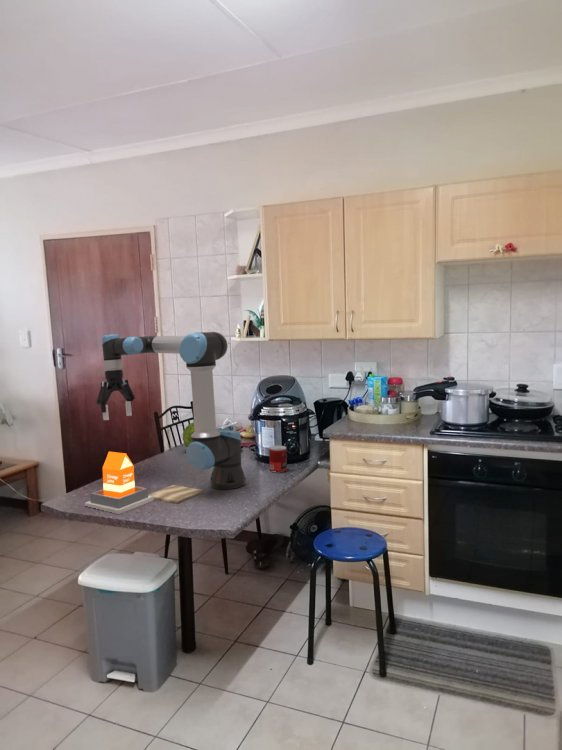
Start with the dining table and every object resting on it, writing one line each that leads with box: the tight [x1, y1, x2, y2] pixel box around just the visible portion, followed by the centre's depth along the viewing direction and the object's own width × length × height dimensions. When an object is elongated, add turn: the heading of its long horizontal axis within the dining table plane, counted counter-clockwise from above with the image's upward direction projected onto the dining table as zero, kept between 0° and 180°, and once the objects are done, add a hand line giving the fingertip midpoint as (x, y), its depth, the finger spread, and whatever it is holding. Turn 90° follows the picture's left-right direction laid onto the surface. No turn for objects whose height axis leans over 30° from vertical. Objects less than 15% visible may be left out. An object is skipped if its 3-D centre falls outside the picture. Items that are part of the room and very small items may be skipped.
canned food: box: [268, 445, 288, 472], centre depth 260 cm, size 8×8×11 cm
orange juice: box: [102, 451, 136, 498], centre depth 217 cm, size 8×9×20 cm
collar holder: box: [84, 485, 155, 515], centre depth 218 cm, size 18×18×5 cm
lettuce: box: [182, 421, 195, 448], centre depth 304 cm, size 17×23×16 cm
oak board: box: [148, 484, 204, 504], centre depth 227 cm, size 16×16×1 cm
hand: (118, 417), depth 250 cm, fingers open, 13 cm apart
